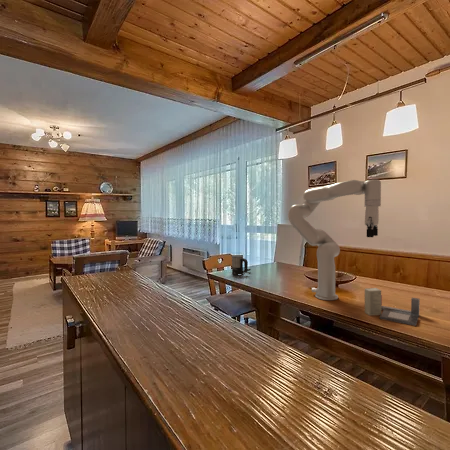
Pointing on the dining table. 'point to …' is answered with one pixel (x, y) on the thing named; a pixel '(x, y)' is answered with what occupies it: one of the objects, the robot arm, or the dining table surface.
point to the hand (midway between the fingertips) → (372, 236)
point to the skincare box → (372, 301)
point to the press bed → (399, 317)
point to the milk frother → (239, 265)
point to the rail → (414, 310)
